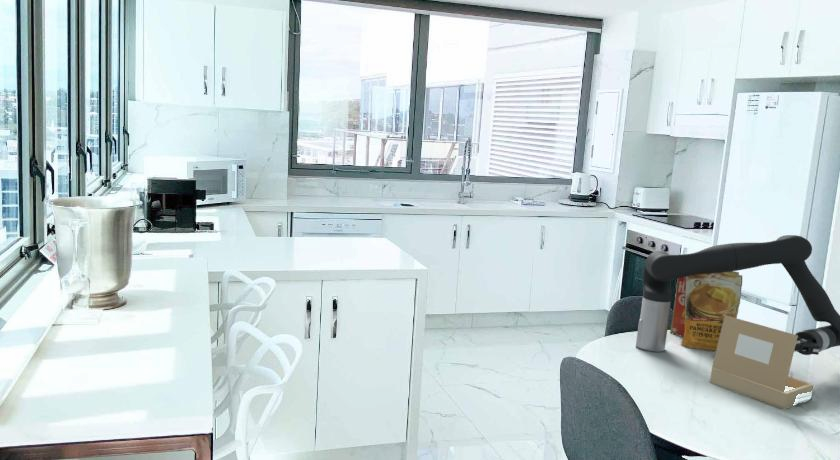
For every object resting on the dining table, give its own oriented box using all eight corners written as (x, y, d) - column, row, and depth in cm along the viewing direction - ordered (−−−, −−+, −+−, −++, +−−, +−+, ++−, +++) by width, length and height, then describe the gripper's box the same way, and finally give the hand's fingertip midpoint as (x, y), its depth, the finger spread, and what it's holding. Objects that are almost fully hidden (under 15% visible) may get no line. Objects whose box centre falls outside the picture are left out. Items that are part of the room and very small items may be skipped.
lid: (725, 315, 206) (724, 315, 206) (797, 335, 189) (797, 335, 189) (712, 367, 207) (711, 367, 206) (783, 392, 190) (783, 392, 190)
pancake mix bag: (674, 341, 249) (685, 264, 245) (731, 349, 245) (743, 271, 241) (677, 346, 243) (688, 268, 239) (735, 354, 239) (747, 274, 235)
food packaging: (668, 333, 260) (677, 267, 256) (678, 329, 267) (687, 265, 263) (704, 342, 251) (714, 274, 247) (714, 338, 258) (723, 272, 254)
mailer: (738, 374, 218) (740, 360, 217) (811, 399, 200) (813, 384, 199) (709, 382, 208) (712, 367, 207) (783, 409, 191) (786, 393, 190)
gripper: (791, 324, 224) (764, 330, 214) (835, 335, 213) (808, 342, 203) (788, 346, 225) (760, 353, 215) (831, 359, 215) (804, 367, 204)
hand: (784, 348), depth 209 cm, fingers closed
